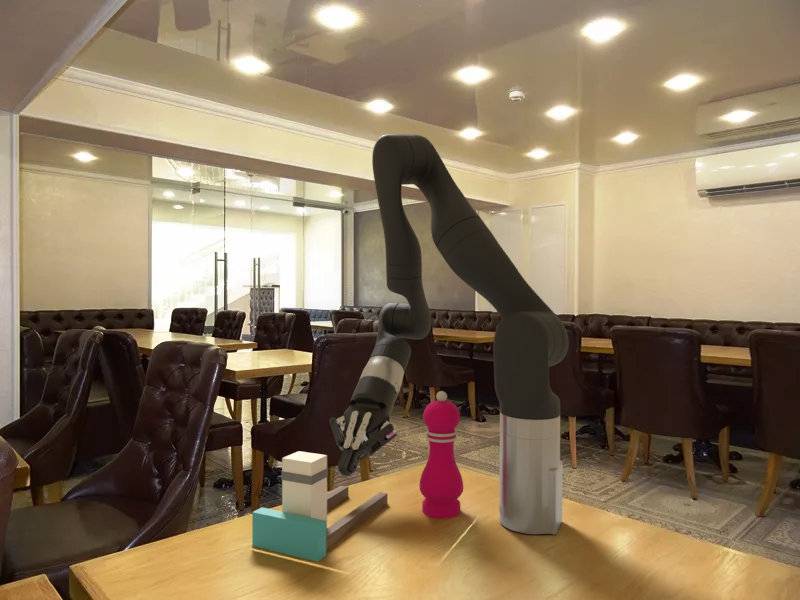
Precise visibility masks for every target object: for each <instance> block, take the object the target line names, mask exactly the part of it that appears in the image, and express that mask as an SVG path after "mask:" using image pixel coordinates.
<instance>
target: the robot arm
mask: <svg viewBox="0 0 800 600" xmlns="http://www.w3.org/2000/svg"><path fill="white" fill-rule="evenodd" d="M372 173H373V178H374V179H373V180H374V185H375V191H376V197H377V203H378V208H379V212H380V219H381V224H382V230H383V237H384V245H385V246H384V247H385V248H384V249H385V272H386V278H385V279H386V287H387V289H388V290H389V291H390V292H391V293H394V294H397V295H401V296H403V297H405V299H406V300H407V303H405V302H388V303H386V304H385V305H384V306H383V307H382V308H381V309H380V311H379V315H378V320H377V321H378V322H377V323H378V324H377V325H378V327H377V335H376V340H375V345H374V348H373V350H372V353H371V355H370V357H369V360H368V362H367V363H366V365H365V367H364V368H363V370H362V373H361V375H360V377H359V380H358V382H357V385H356V386H355V389H354V391H353V394H352V396H351V399H350V404H349V407H347V409H346V410H345V411H344V413H343V415H342V416H339V417H337V418H336V417H335V416H332V417H331V418H329V424H330V428H331V431H332V434H333V438H334V440H335V443H336V445H337V446H338V447H339V449H340V451H341V455H340V458H339V459H338V461H337V462H338V463H337V469H338V472H339V473H340V474H341V475H342V476H345V477H346V476H348V477H352V474H354V473H355V472H356V471H357V468H358V465H359V462H360V460H361V458H362V457H363V456H364V455H368V456H372V455H374V454H376V452H378V451H379V450H380V449H382V448H383V447H384V446H386V445H387V444H388V443H389V442H391V441H392V440H393V439H394V438H396V437H397V435H398V432H397V429H395V426H394V425H393V424H392V423H390V416H391V414H392V411H393V409H394V405H395V403H396V400H397V398H398V395H399V393H400V390H401V386H402V384H403V383H402V382H403V379H404V375H405V372H406V370H407V366H408V364H409V361H410V358H411V355H412V349H411V346H410V344H409V343H408V342H407V341H406V340H404V339H409V340H422V339H424V338H426V337H427V336H428V335H429V333H430V331H431V327H432V316H431V311H430V308H429V305H428V302H427V298H426V294H425V291H424V286H423V275H422V274H423V271H422V270H423V267H422V266H423V265H422V263H423V262H422V260H423V259H422V250H421V249H422V248H421V245H420V241H419V238H418V237H417V234H416V233H415V230H414V229H413V227H412V225H411V223H410V221H409V218H408V216H407V214H406V212H405V208H404V205H403V200H402V185H414V186H416V187H417V188H418V189H419V191H421V193H422V194H423V196H424V197H425V198H426V200H427V202H428V204H429V206H430V213H431V214H430V215H431V217H430V230H431V233H430V234H431V238H432V241H433V244H434V245H435V248H436V249H437V250H438V252H439V253H440V255H441V257H443V259H444V261H445V262H446V264H447V265H448V267H449V268H450V269H451V271H453V273H454V274H455V275H456V276H457V277H458V278H460V280H462V281H463V282H464V283H465V284H466V285H468V286H469V287H470V288H471V289H472V290H474V291H475V292H476V293H478V294H479V295H480V296H481V297H482V298H483V299H485V300H486V301H487V302H488V303H489V304H490V305H491V306H492V307H493V308H494V309H495V310H496V312H497V313H498V314H499V316H500V318H501V320H500V322H499V323H498V325H497V326H496V329H495V332H494V337H493V346H492V347H493V368H494V369H493V374H494V375H493V376H494V390H495V393H496V397H497V399H498V402H499V505H498V509H499V510H498V512H499V522H500V524H501V525H502V526H503V527H505V528H507V529H508V530H510V531H513V532H517V533H522V534H527V535H547V534H548V535H557V532H558V531H559V529H560V526H561V524H562V521H563V476H564V475H563V473H564V472H563V468H564V467H563V466H564V465H563V461H562V460H561V399H560V397H559V396H558V395H557V394H555V393H554V392H553V391H552V388H551V386H550V367H554V366H555V365H557V364H559V363H561V362H562V361H563V360H564V359H565V357H566V356H567V353H568V351H569V343H570V342H569V341H570V340H569V336H568V334H569V333H568V331H567V329H566V327H565V325H564V323H563V322H562V320H561V319H560V318H559V317H558V315H557V314H556V313H555V312H554V311H553V310H552V309H551V308H550V307H549V305H548V304H547V303H546V302H545V301H544V300H543V299H542V298H541V297H540V296H539V294H538V293H537V292H535V290H534V289H533V288H532V287H531V286H530V285H529V283H528V282H527V281H526V279H525V278H524V277H523V276H522V274H521V272H520V271H519V269H518V268H517V267H516V265H515V263H514V262H513V261H512V260H511V258H510V257H509V256H508V254H507V253H506V252H505V250H504V249H503V248H502V246H501V244H500V243H499V241H498V240H497V239H496V237H495V235H493V233H492V231H491V230H490V229H489V227H488V226H487V225H486V223H485V221H484V220H483V219H482V218H481V216H480V215H479V214H478V213H477V211H476V210H475V209H474V208H473V207H472V204H470V202H469V200H468V199H467V198H466V196H465V195H464V193H463V191H462V190H461V189H460V188H459V186H458V184H457V183H456V182H455V180H454V179H453V177H452V175H451V173H450V172H449V170H448V168H447V167H446V165H445V163H444V161H443V159H442V157H441V156H440V154H439V152H438V151H437V149H436V148H435V146H434V144H433V143H432V142H431V141H430V140H429V139H428V137H426V136H423V135H419V134H416V133H415V134H409V133H408V134H407V133H406V134H405V133H402V134H400V133H388V134H383V135H381V136H380V137H379V138H378V139H377V140H376V141H375V143H374V145H373V149H372ZM345 425H346V428H347V430H346V432H345V435H346V437H345V436H344V433H343V431H345Z"/></svg>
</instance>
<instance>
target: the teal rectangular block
mask: <svg viewBox="0 0 800 600" xmlns="http://www.w3.org/2000/svg"><path fill="white" fill-rule="evenodd" d="M251 526H252V529H251V530H252V541H251V543H252V544H251V545H252V547H257V548H261V549H264V550H265V549H266V550H269V551H272V552H276V553H280V554H285V555H289V556H293V557H297V558H301V559H305V560H309V561H314V562H319V561H321V560H322V559H324V557H326V556H327V550H326V521H325V520H321V519H316V518H311V517H306V516H301V515H296V514H291V513H287V512H282V511H281V510H276V509H273V508H272V509H271V508H267V507H262V506H261V507H260V508H258V509H256V510H254V511H252V525H251Z"/></svg>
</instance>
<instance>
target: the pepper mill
mask: <svg viewBox="0 0 800 600" xmlns="http://www.w3.org/2000/svg"><path fill="white" fill-rule="evenodd" d="M435 397H436V398H435V399H436V400H435V401H431V402H430V403H428V404H427V405H426V407H425V408H424V411H423V416H422V417H423V422H424V424H425V426H426V428H427V430H426V431H425V432H426V436H425V438H426V440H428V446H429V453H428V454H429V455H428V459H427V461H426V463H425V467H424V468H423V471H422V473H421V476H420V479H419V491H420V493H421V495H422V496H423V497H424V498H423V500H422V503H421V504H422V505H421V506H422V507H421V511H422V513H423V514H424V515H425V516H427V517H430V518H434V519H440V520H441V519H444V520H445V519H451V518H452V519H453V518H455V517H458V516H460V514H461V501H460V500H459V498H460V497H461V495H462V494H463V492H464V481H463V475H462V474H461V472H460V469H459V467H458V465H457V462H456V458H455V454H454V452H455V451H454V445H455V441H456V440H457V439H458V438H457V434H458V431H457V430H456V427H458V425H459V423H460V420H461V414H460V410H459V408H458V407H457V405H456V404H455V403H454V402H452V401H448V400H447V399H448V394H447V393H446V391H443V390H440V391H438V392H437V393H436V396H435Z"/></svg>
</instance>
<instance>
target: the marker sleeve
mask: <svg viewBox="0 0 800 600" xmlns="http://www.w3.org/2000/svg"><path fill="white" fill-rule="evenodd" d="M281 462H282V463H281V464H282V465H281V466H282V467H281V469H282V470H280V473H281V474H280V475H281V477H280V481H282V482H281V484H282V485H281V487H282V488H281V490H282V492H281V495H282V497H281V499H282V501H281V503H282V504H281V507H282V508H281V509H282V512H287V513H291V514H296V515H301V516H306V517H311V518H316V519H321V520H325V521H326V529H327V528H328V510H327V493H328V476H329V468H328V455H326V454H321V453H314V452H307V451H299V450H298V451H296V452H293V453H291V454H288V455H286V456H283V457H282V458H281Z"/></svg>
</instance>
